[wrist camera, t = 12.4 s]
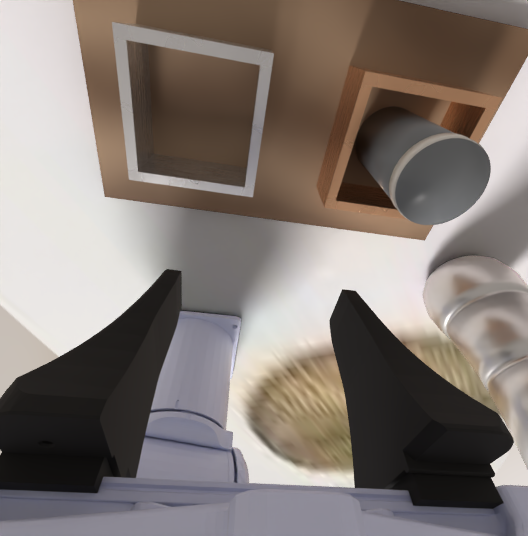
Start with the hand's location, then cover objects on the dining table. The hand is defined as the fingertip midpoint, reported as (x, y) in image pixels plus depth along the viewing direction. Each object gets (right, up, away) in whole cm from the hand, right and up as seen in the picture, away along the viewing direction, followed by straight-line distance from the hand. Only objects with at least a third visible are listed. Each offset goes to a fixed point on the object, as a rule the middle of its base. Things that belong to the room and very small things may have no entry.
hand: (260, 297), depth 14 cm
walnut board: (+2, +10, +4) cm, 11 cm away
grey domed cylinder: (+7, +9, +4) cm, 12 cm away
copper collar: (+7, +9, +5) cm, 13 cm away
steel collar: (-3, +10, +3) cm, 11 cm away
